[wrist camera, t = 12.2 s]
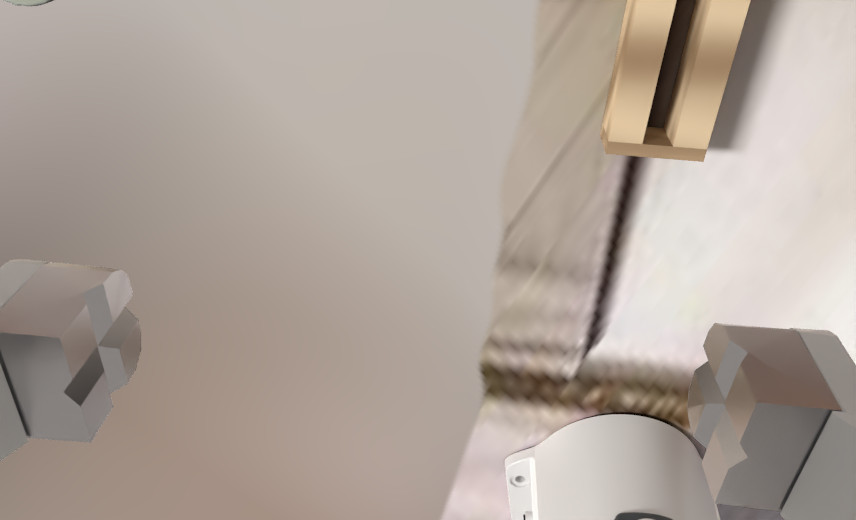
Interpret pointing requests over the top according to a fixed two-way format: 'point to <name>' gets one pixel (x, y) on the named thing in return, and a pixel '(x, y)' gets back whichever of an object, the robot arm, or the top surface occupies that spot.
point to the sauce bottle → (29, 2)
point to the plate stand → (694, 87)
